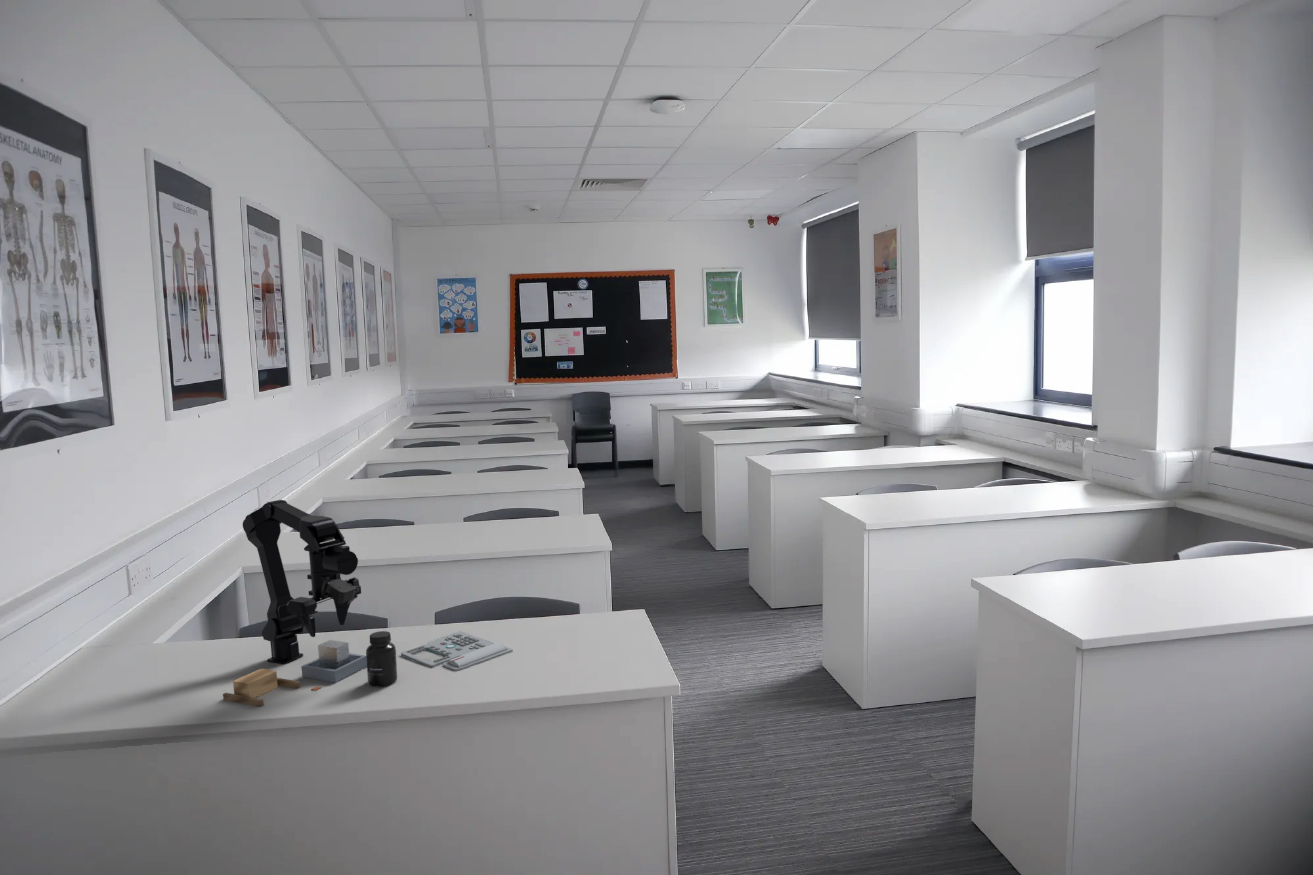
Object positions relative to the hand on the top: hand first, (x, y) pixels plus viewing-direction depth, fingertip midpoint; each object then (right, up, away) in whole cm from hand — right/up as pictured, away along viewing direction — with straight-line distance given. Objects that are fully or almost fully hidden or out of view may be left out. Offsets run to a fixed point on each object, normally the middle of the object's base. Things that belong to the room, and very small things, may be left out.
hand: (327, 630), depth 212 cm
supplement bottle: (+16, -11, -6) cm, 20 cm away
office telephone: (+29, -9, +12) cm, 33 cm away
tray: (+1, -11, +1) cm, 11 cm away
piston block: (-13, -12, -10) cm, 21 cm away
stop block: (+1, -10, +1) cm, 11 cm away
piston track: (-9, -13, -11) cm, 19 cm away
